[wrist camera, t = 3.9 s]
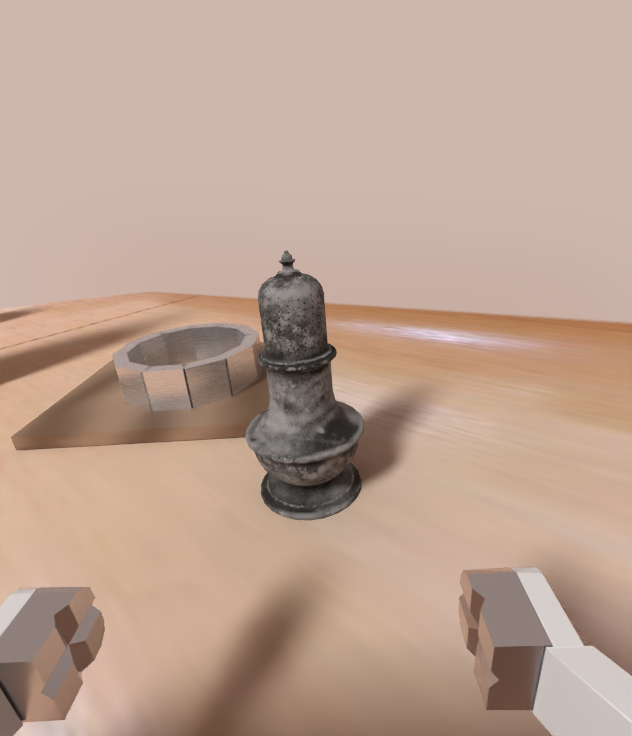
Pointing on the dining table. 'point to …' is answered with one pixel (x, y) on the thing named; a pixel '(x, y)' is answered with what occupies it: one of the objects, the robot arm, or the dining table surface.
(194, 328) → the steel collar
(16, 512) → the dining table surface
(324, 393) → the salt shaker
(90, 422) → the walnut board
